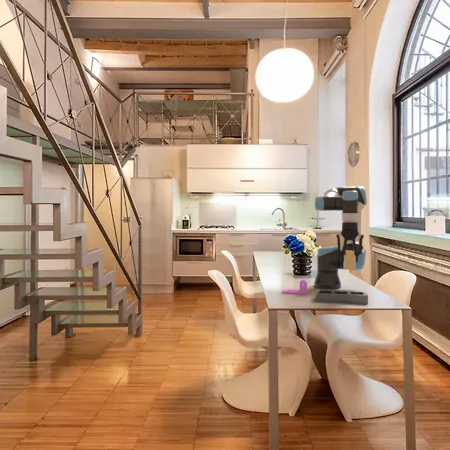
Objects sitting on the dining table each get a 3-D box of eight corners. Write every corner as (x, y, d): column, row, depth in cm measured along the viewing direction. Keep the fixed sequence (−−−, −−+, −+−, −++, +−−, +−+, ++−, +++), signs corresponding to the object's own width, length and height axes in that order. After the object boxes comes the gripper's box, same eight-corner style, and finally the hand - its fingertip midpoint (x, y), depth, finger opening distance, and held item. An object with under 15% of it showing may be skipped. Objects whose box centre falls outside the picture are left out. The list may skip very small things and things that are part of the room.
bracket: (306, 292, 214) (306, 279, 214) (307, 294, 209) (307, 281, 209) (282, 291, 216) (282, 279, 216) (282, 293, 211) (282, 280, 210)
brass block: (344, 268, 201) (345, 250, 201) (353, 268, 200) (353, 250, 200) (345, 269, 197) (345, 251, 197) (354, 269, 197) (354, 251, 196)
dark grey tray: (315, 297, 200) (315, 289, 200) (365, 299, 195) (365, 291, 195) (315, 301, 191) (315, 293, 191) (368, 304, 186) (368, 295, 186)
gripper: (332, 221, 196) (332, 268, 197) (368, 221, 193) (368, 269, 193) (331, 221, 204) (331, 267, 204) (366, 221, 200) (366, 267, 201)
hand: (349, 268), depth 199 cm, fingers closed on brass block, 4 cm apart
